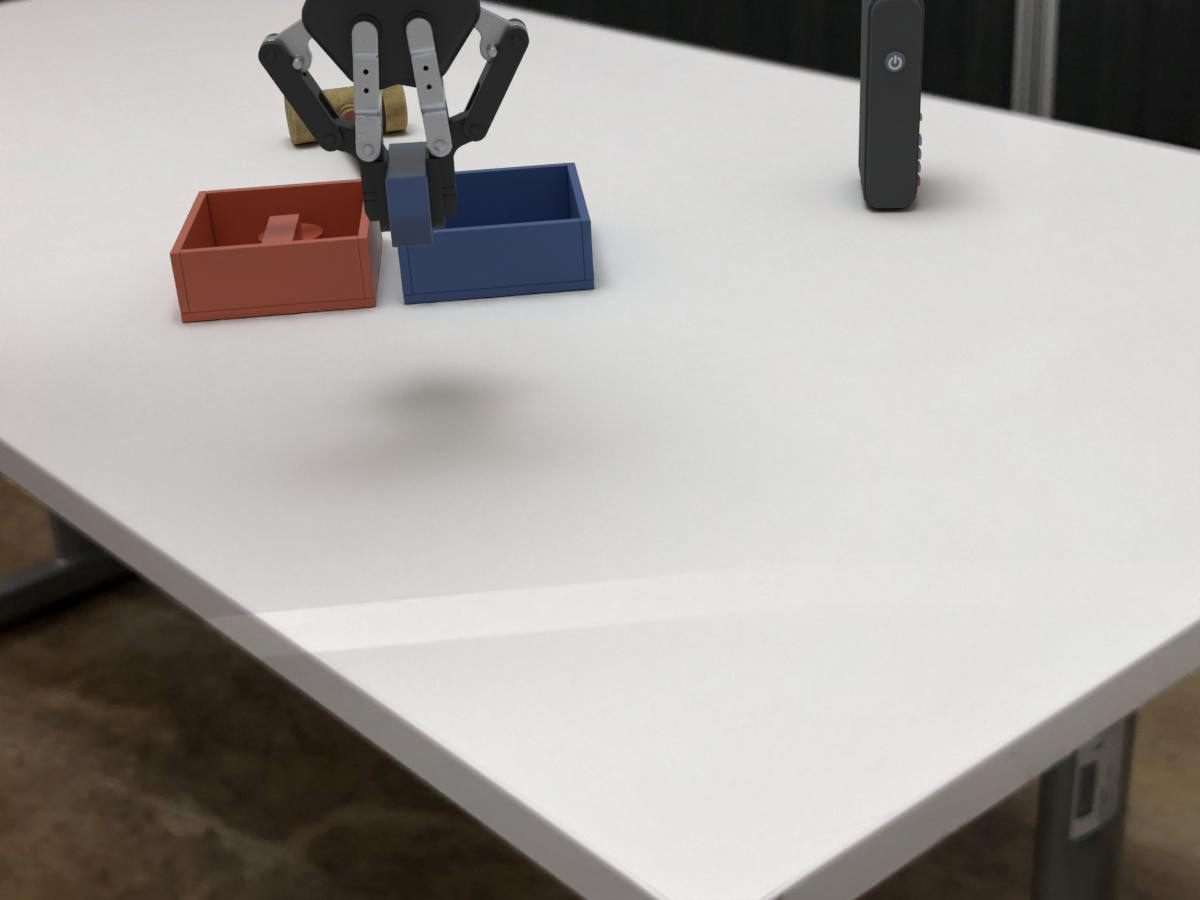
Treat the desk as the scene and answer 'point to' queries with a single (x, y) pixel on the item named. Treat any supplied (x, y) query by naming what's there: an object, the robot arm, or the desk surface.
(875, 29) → the card reader
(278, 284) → the red bin
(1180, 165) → the desk surface
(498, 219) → the blue bin
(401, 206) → the blue disc with bar
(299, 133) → the gavel
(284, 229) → the red bar with disc
